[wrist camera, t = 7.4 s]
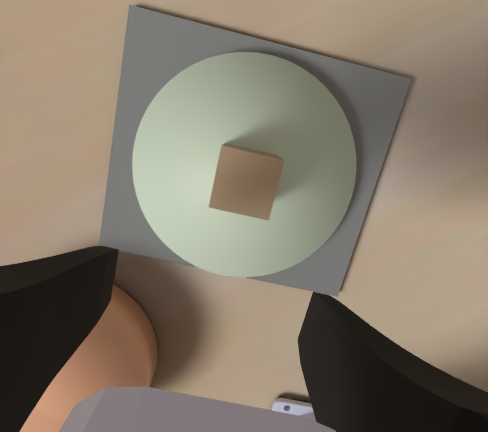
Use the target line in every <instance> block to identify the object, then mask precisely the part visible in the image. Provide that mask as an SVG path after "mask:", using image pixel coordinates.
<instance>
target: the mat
mask: <svg viewBox="0 0 488 432" xmlns="http://www.w3.org/2000/svg"><path fill="white" fill-rule="evenodd" d="M235 52H257V53H262V54H268V55H273V56H276V57H279V58H282V59H285V60H288V61H290V62H292V63H294V64H296V65H298V66H300V67H302V68H303V69H305V70H306V71H307V72H309V73H310V74H312V75H313V76H315V77H316V78H317V79H318V80H319V81H320V82H321V83H322V84H323V85H324V86H325V87H326V88H327V89H328V90H329V91H330V93H331V94H332V95H333V96H334V97H335V99H336V100H337V102H338V103H339V105H340V107H341V108H342V110H343V112H344V114H345V116H346V118H347V121H348V123H349V125H350V128H351V132H352V135H353V139H354V143H355V150H356V178H355V186H354V190H353V194H352V198H351V201H350V203H349V206H348V208H347V211H346V213H345V215H344V217H343V219H342V220H341V222H340V224H339V226H338V227H337V228H336V230H335V231H334V233H333V234H332V235H331V237H330V238H329V239H328V240H327V241H326V242H325V243H324V244H323V245H322V246H321V247H320V248H319V249H318V250H316V251H315V252H314V253H313V254H312V255H310V256H309V257H307V258H306V259H304V260H303V261H301V262H300V263H298V264H296V265H294V266H292V267H290V268H287V269H285V270H282V271H279V272H276V273H272V274H268V275H263V276H255V277H246V278H251V279H256V280H261V281H266V282H270V283H275V284H280V285H285V286H289V287H294V288H299V289H304V290H309V291H313V292H318V293H323V294H328V295H333V296H337V297H338V294H339V291H340V288H341V285H342V282H343V279H344V277H345V274H346V271H347V268H348V265H349V262H350V259H351V256H352V253H353V250H354V247H355V244H356V241H357V238H358V235H359V232H360V230H361V227H362V224H363V221H364V218H365V215H366V212H367V209H368V206H369V203H370V200H371V197H372V194H373V191H374V188H375V185H376V182H377V180H378V177H379V174H380V171H381V168H382V165H383V162H384V159H385V156H386V153H387V150H388V147H389V144H390V141H391V138H392V135H393V133H394V130H395V127H396V124H397V121H398V118H399V115H400V112H401V109H402V106H403V103H404V100H405V97H406V94H407V91H408V88H409V85H410V83H411V80H412V79H410V78H407V77H403V76H399V75H395V74H391V73H388V72H384V71H380V70H376V69H372V68H369V67H365V66H361V65H357V64H353V63H350V62H346V61H342V60H338V59H334V58H331V57H327V56H323V55H319V54H315V53H312V52H308V51H304V50H300V49H296V48H293V47H289V46H285V45H281V44H277V43H274V42H270V41H266V40H262V39H258V38H254V37H251V36H247V35H243V34H239V33H235V32H232V31H228V30H224V29H220V28H216V27H213V26H209V25H205V24H201V23H197V22H194V21H190V20H186V19H182V18H178V17H175V16H171V15H167V14H163V13H159V12H156V11H152V10H148V9H144V8H140V7H137V6H133V5H129V12H128V20H127V28H126V36H125V44H124V52H123V60H122V68H121V76H120V84H119V92H118V100H117V108H116V116H115V124H114V132H113V140H112V148H111V156H110V164H109V172H108V180H107V188H106V196H105V204H104V212H103V220H102V228H101V236H100V244H99V246H105V247H110V248H114V249H119V250H118V251H122V252H127V253H131V254H136V255H141V256H146V257H151V258H155V259H160V260H165V261H170V262H175V263H179V264H184V265H189V266H194V267H196V266H195V265H193V264H191V263H189V262H187V261H185V260H184V259H182V258H181V257H180V256H178V255H177V254H176V253H174V252H173V251H172V250H171V249H170V248H169V247H167V246H166V245H165V244H164V243H163V242H162V241H161V239H160V238H159V237H158V236H157V235H156V233H155V232H154V231H153V229H152V228H151V226H150V225H149V223H148V221H147V220H146V218H145V216H144V214H143V212H142V210H141V207H140V205H139V202H138V199H137V196H136V192H135V187H134V182H133V171H132V158H133V148H134V143H135V138H136V134H137V131H138V128H139V125H140V122H141V120H142V118H143V116H144V114H145V112H146V110H147V108H148V106H149V105H150V103H151V102H152V100H153V99H154V97H155V96H156V95H157V93H158V92H159V91H160V90H161V89H162V88H163V87H164V86H165V85H166V84H167V83H168V82H169V81H170V80H171V79H172V78H174V77H175V76H176V75H177V74H179V73H180V72H181V71H183V70H185V69H186V68H188V67H190V66H191V65H193V64H195V63H197V62H200V61H202V60H204V59H207V58H209V57H213V56H217V55H221V54H225V53H235ZM198 268H199V267H198Z"/></svg>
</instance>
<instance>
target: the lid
mask: <svg viewBox="0 0 488 432" xmlns="http://www.w3.org/2000/svg"><path fill="white" fill-rule="evenodd" d="M132 171H133V182H134V187H135V192H136V196H137V199H138V202H139V205H140V207H141V210H142V212H143V214H144V216H145V218H146V220H147V221H148V223H149V225H150V226H151V228H152V229H153V231H154V232H155V233H156V235H157V236H158V237H159V238H160V239H161V241H162V242H163V243H164V244H165V245H166V246H167V247H169V248H170V249H171V250H172V251H173V252H174V253H176V254H177V255H178V256H180V257H181V258H182V259H184V260H185V261H187V262H189V263H191V264H193V265H195V266H196V267H199V268H201V269H204V270H206V271H209V272H213V273H216V274H220V275H226V276H232V277H255V276H263V275H268V274H272V273H276V272H279V271H282V270H285V269H287V268H290V267H292V266H294V265H296V264H298V263H300V262H301V261H303V260H304V259H306V258H307V257H309V256H310V255H312V254H313V253H314V252H315V251H316V250H318V249H319V248H320V247H321V246H322V245H323V244H324V243H325V242H326V241H327V240H328V239H329V238H330V237H331V235H332V234H333V233H334V231H335V230H336V228H337V227H338V226H339V224H340V222H341V220H342V219H343V217H344V215H345V213H346V211H347V208H348V206H349V203H350V201H351V198H352V194H353V190H354V186H355V178H356V150H355V143H354V139H353V135H352V132H351V128H350V125H349V123H348V121H347V118H346V116H345V114H344V112H343V110H342V108H341V107H340V105H339V103H338V102H337V100H336V99H335V97H334V96H333V95H332V94H331V93H330V91H329V90H328V89H327V88H326V87H325V86H324V85H323V84H322V83H321V82H320V81H319V80H318V79H317V78H316V77H315V76H313V75H312V74H310V73H309V72H307V71H306V70H305V69H303V68H302V67H300V66H298V65H296V64H294V63H292V62H290V61H288V60H285V59H282V58H279V57H276V56H273V55H268V54H262V53H257V52H235V53H225V54H221V55H217V56H213V57H209V58H207V59H204V60H202V61H200V62H197V63H195V64H193V65H191V66H190V67H188V68H186V69H185V70H183V71H181V72H180V73H179V74H177V75H176V76H175V77H174V78H172V79H171V80H170V81H169V82H168V83H167V84H166V85H165V86H164V87H163V88H162V89H161V90H160V91H159V92H158V93H157V95H156V96H155V97H154V99H153V100H152V102H151V103H150V105H149V106H148V108H147V110H146V112H145V114H144V116H143V118H142V120H141V122H140V125H139V128H138V131H137V134H136V138H135V143H134V148H133V158H132Z"/></svg>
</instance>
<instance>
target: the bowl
mask: <svg viewBox="0 0 488 432" xmlns="http://www.w3.org/2000/svg"><path fill="white" fill-rule="evenodd" d="M157 358H158V346H157V341H156V336H155V333H154V330H153V327H152V325H151V323H150V321H149V319H148V317H147V316H146V314H145V313H144V311H143V310H142V308H141V307H140V306H139V305H138V304H137V303H136V302H135V300H134V299H133V298H131V297H130V296H129V295H128V294H127V293H126V292H125V291H123V290H122V289H120V288H119V287H117V286H116V285H114V284H113V289H112V296H111V301H110V303H109V304H108V306H107V308H106V310H105V312H104V313H103V315H102V317H101V318H100V320H99V322H98V323H97V325H96V326H95V327H94V328H93V330H92V331H91V332H90V334H89V335H88V336H87V337H86V339H85V340H84V341H83V343H82V344H81V345H80V346H79V348H78V349H77V350H76V351H75V353H74V354H73V355H72V356H71V358H70V359H69V360H68V361H67V363H66V364H65V365H64V366H63V368H62V369H61V370H60V371H59V373H58V374H57V375H56V377H55V378H54V379H53V381H52V382H51V383H50V385H49V386H48V388H47V389H46V391H45V392H44V394H43V395H42V397H41V398H40V400H39V401H38V403H37V405H36V406H35V408H34V409H33V411H32V412H31V414H30V415H29V417H28V419H27V420H26V422H25V423H24V425H23V427H22V428H21V430H20V432H59V430H60V429H61V427H62V426H63V424H64V422H65V421H66V419H67V417H68V416H69V414H70V412H71V411H72V409H73V408H74V406H75V404H77V403H79V402H81V401H83V400H84V399H86V398H88V397H90V396H92V395H94V394H95V393H97V392H99V391H101V390H103V389H104V388H107V387H142V386H146V387H150V384H151V381H152V379H153V376H154V373H155V369H156V366H157Z"/></svg>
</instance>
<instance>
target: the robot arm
mask: <svg viewBox="0 0 488 432" xmlns="http://www.w3.org/2000/svg"><path fill="white" fill-rule="evenodd" d="M118 250H119V249H114V248H110V247H105V246H94V247H89V248H85V249H80V250H76V251H72V252H68V253H64V254H60V255H56V256H52V257H47V258H42V259H38V260H33V261H28V262H23V263H18V264H12V265H5V266H0V432H20V430H21V428H22V427H23V425H24V423H25V422H26V420H27V419H28V417H29V415H30V414H31V412H32V411H33V409H34V408H35V406H36V405H37V403H38V401H39V400H40V398H41V397H42V395H43V394H44V392H45V391H46V389H47V388H48V386H49V385H50V383H51V382H52V381H53V379H54V378H55V377H56V375H57V374H58V373H59V371H60V370H61V369H62V368H63V366H64V365H65V364H66V363H67V361H68V360H69V359H70V358H71V356H72V355H73V354H74V353H75V351H76V350H77V349H78V348H79V346H80V345H81V344H82V343H83V341H84V340H85V339H86V337H87V336H88V335H89V334H90V332H91V331H92V330H93V328H94V327H95V326H96V325H97V323H98V322H99V320H100V318H101V317H102V315H103V313H104V312H105V310H106V308H107V306H108V304H109V303H110V301H111V296H112V289H113V283H114V276H115V270H116V263H117V257H118ZM298 346H299V355H300V362H301V367H302V371H303V375H304V379H305V383H306V386H307V390H308V394H309V397H310V401H311V403H307V402H301V401H296V400H290V399H285V398H277V399H276V400H274V402H273V405H272V409H271V410H267V409H262V408H256V407H251V406H246V405H241V404H235V403H230V402H225V401H220V400H214V399H209V398H204V397H199V396H193V395H188V394H183V393H177V392H172V391H167V390H162V389H156V388H151V387H146V386H142V387H107V388H104V389H103V390H101V391H99V392H97V393H95V394H94V395H92V396H90V397H88V398H86V399H84V400H83V401H81V402H79V403H77V404H75V406H74V408H73V409H72V411H71V412H70V414H69V416H68V417H67V419H66V421H65V422H64V424H63V426H62V427H61V429H60V430H59V432H488V393H487V392H485V391H483V390H481V389H478V388H476V387H474V386H472V385H470V384H468V383H465V382H463V381H461V380H459V379H457V378H455V377H453V376H451V375H449V374H447V373H445V372H444V371H442V370H440V369H438V368H436V367H434V366H432V365H430V364H429V363H427V362H425V361H423V360H422V359H420V358H418V357H417V356H415V355H413V354H412V353H410V352H408V351H407V350H405V349H403V348H402V347H400V346H399V345H397V344H396V343H394V342H393V341H391V340H390V339H389V338H387V337H386V336H384V335H383V334H381V333H380V332H379V331H377V330H376V329H375V328H373V327H372V326H371V325H369V324H368V323H367V322H365V321H364V320H363V319H361V318H360V317H359V316H357V315H356V314H355V313H354V312H352V311H351V310H350V309H348V308H347V307H346V306H345V305H343V304H342V303H340V302H339V301H338V300H336V299H335V298H333V297H331V296H329V295H325V294H321V293H316V292H313V294H312V297H311V300H310V303H309V306H308V309H307V312H306V315H305V319H304V322H303V325H302V328H301V331H300V334H299V337H298ZM287 405H288V407H285V406H287Z"/></svg>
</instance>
